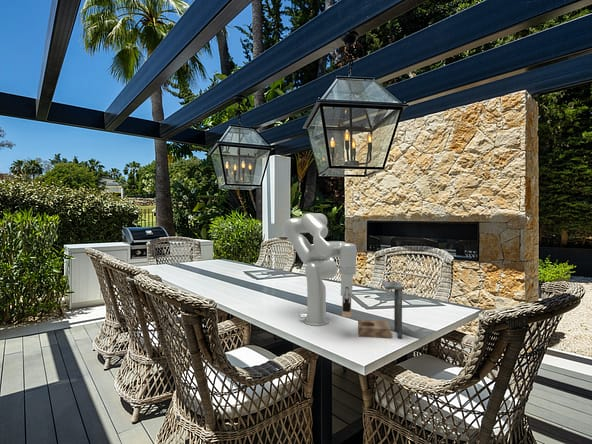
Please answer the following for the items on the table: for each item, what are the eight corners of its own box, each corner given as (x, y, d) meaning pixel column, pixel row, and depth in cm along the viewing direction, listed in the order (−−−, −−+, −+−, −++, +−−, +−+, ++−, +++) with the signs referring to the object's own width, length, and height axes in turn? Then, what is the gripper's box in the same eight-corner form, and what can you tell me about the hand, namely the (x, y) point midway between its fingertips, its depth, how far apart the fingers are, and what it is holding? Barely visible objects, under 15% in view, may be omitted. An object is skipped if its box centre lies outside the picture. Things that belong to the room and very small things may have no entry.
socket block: (358, 336, 150) (358, 285, 150) (358, 327, 162) (358, 281, 162) (403, 339, 147) (403, 287, 147) (399, 330, 159) (399, 282, 159)
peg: (341, 316, 151) (342, 294, 150) (342, 313, 155) (342, 292, 154) (350, 317, 150) (351, 295, 150) (350, 314, 154) (351, 293, 154)
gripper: (339, 266, 161) (338, 304, 161) (338, 273, 144) (337, 314, 145) (355, 267, 159) (354, 305, 160) (356, 274, 143) (355, 316, 144)
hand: (346, 309), depth 152 cm, fingers closed on peg, 4 cm apart
